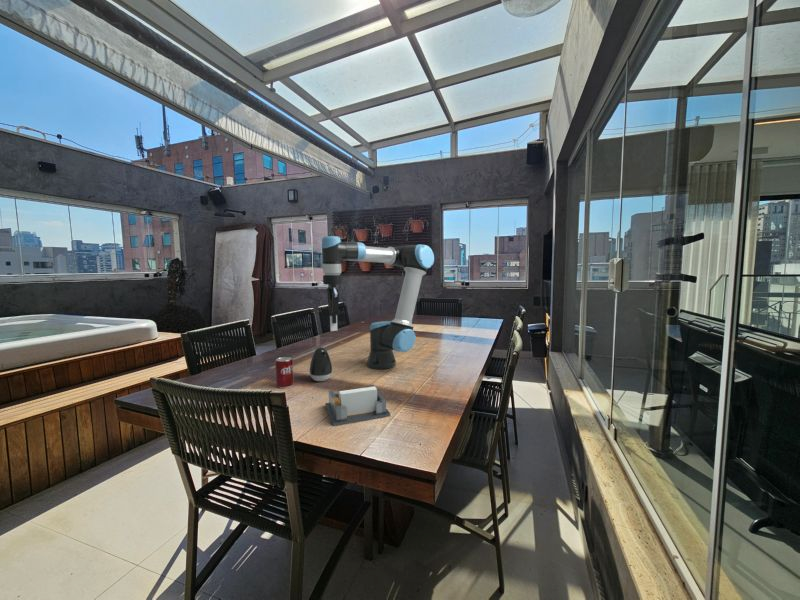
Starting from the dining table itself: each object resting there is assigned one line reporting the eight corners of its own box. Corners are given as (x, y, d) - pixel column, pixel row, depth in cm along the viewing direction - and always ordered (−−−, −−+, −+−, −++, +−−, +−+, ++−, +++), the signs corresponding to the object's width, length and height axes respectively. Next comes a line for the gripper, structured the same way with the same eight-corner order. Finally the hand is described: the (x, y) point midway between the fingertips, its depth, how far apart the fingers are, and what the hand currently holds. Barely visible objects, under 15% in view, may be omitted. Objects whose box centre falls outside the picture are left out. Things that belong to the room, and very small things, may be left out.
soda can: (272, 386, 146) (271, 359, 145) (285, 381, 152) (284, 355, 151) (284, 389, 142) (283, 362, 141) (297, 384, 149) (296, 358, 148)
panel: (374, 407, 123) (374, 386, 122) (377, 410, 120) (377, 389, 119) (339, 413, 118) (339, 391, 117) (341, 416, 115) (340, 394, 114)
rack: (375, 398, 134) (375, 381, 133) (390, 416, 118) (390, 397, 118) (325, 405, 127) (324, 387, 126) (333, 426, 111) (333, 405, 110)
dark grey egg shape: (316, 385, 148) (315, 351, 146) (305, 379, 156) (305, 347, 154) (336, 380, 155) (336, 347, 153) (325, 374, 162) (325, 343, 161)
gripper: (320, 274, 143) (322, 328, 146) (326, 275, 131) (328, 334, 134) (337, 273, 146) (339, 326, 149) (345, 274, 134) (346, 332, 137)
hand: (333, 330), depth 141 cm, fingers closed
